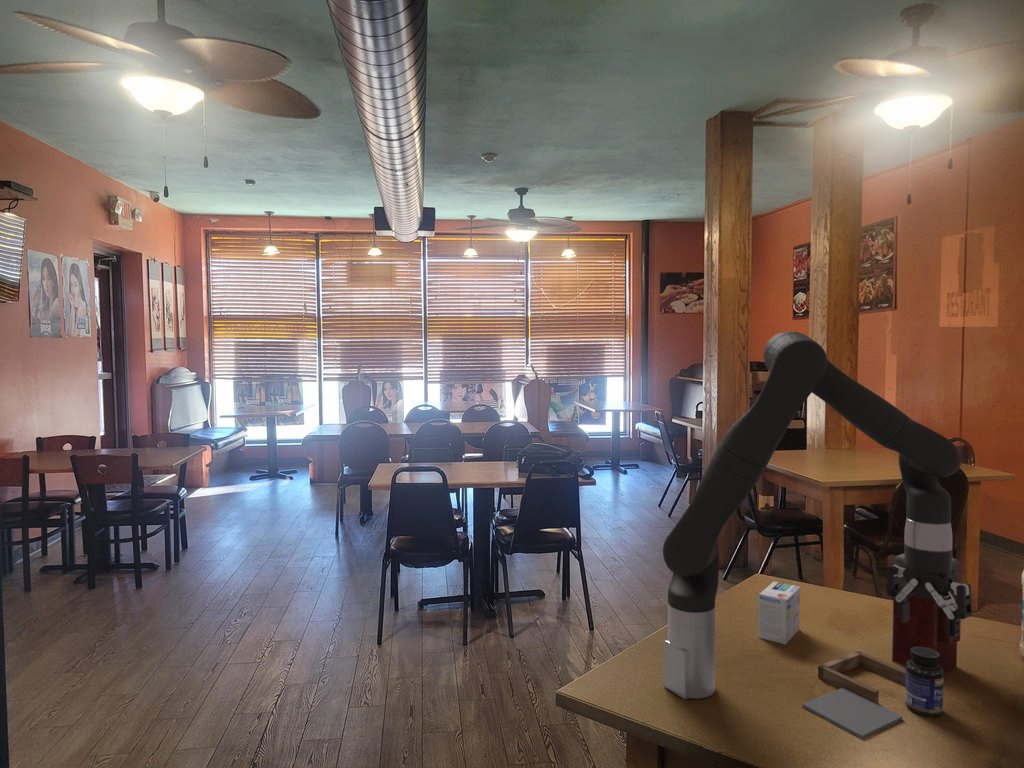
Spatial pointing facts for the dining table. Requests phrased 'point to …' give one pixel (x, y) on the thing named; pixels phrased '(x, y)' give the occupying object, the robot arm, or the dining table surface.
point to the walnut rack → (836, 667)
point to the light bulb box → (779, 612)
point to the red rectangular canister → (924, 626)
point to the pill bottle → (924, 682)
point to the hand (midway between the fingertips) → (927, 629)
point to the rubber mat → (852, 712)
